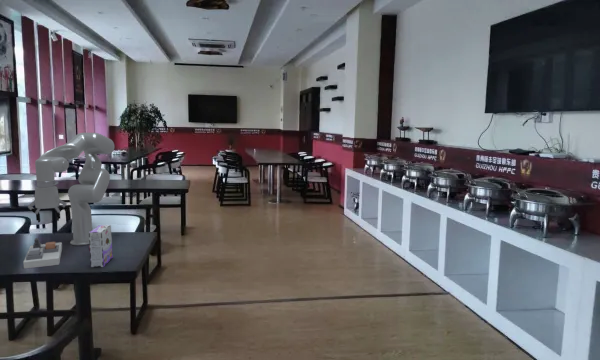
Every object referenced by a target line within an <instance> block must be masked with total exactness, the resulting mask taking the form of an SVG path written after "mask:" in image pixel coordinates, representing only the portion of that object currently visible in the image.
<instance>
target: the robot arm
mask: <svg viewBox="0 0 600 360" xmlns="http://www.w3.org/2000/svg"><path fill="white" fill-rule="evenodd" d="M114 151H115V143H114V141H113V140H112V139H111V138H109V137H107V136H105V135H103V134H101V133H98V132H79V133H77V134H76V135H74V137H72V138H71V139H70V140H69V141H67V142H66V143H65V144H62V145H58V146H57V147H54V148H52V149H48V150H47V151H45V152H44V153H43V154H42V155H40V156H39V158H37V159H36V160H35V161H34V162H35V163H34V165H35V175H36V176H35V178H36V180H35V181H36V187H35V190H34V200H33V201H32V202H31V203H29V204H28V205H27V208H28V210H30V211H32V212H33V214H35V218H36V221H37V222H38V223H40V222H41V213H40V210H41V209H42V210H43V209H44V210H45V209H54V210H55V211H56V214H55V215H56V221H57V222H59V221H60V219H61V212H62V210H64V208H65V207H66V206H67V202H65V201H63V200H62V199H61V198H60V195H59V189H58V187H57V186H56V185H59V181H57V180H55V173H63V172H66V171H67V170H68V168H69V167H70V163H69V161H70V160H73V159H77V158H78V157H79V156H80V155H81V154H83V153H84V156H85V157H84V158H85V162H84V165H83V167H82V169H81V171H80V173H79V176H78V182H79V184H74V185H72V186H70V187H69V188H68V191H67V195H68V199H69V203H70V208H71V223H72V236H73V237H72V239H71V240H70V245H72V246H85V245H89V232H90V231H92V230H93V221H92V220H93V219H92V218H93V217H92V216H93V215H92V208H91V206H90V205H89V204H91V203H93V204H95V203H100V202H101V201H102V199H103V198H104V195H105V193H106V191H107V189H108V186H109V185H110V180H111V177H110V175H111V174H110V172H109V171H108V170H107V169H105V168H102V161H101V159H100V158H99V155H110V154H112V153H113V152H114ZM60 204H61V206H60ZM33 206H35V208H34V207H33Z"/></svg>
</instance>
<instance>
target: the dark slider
mask: <svg viewBox="0 0 600 360" xmlns="http://www.w3.org/2000/svg"><path fill="white" fill-rule="evenodd" d="M41 244H42V241H40V238H39V237H36V238H34V243H33V248H40V247H41Z"/></svg>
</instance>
